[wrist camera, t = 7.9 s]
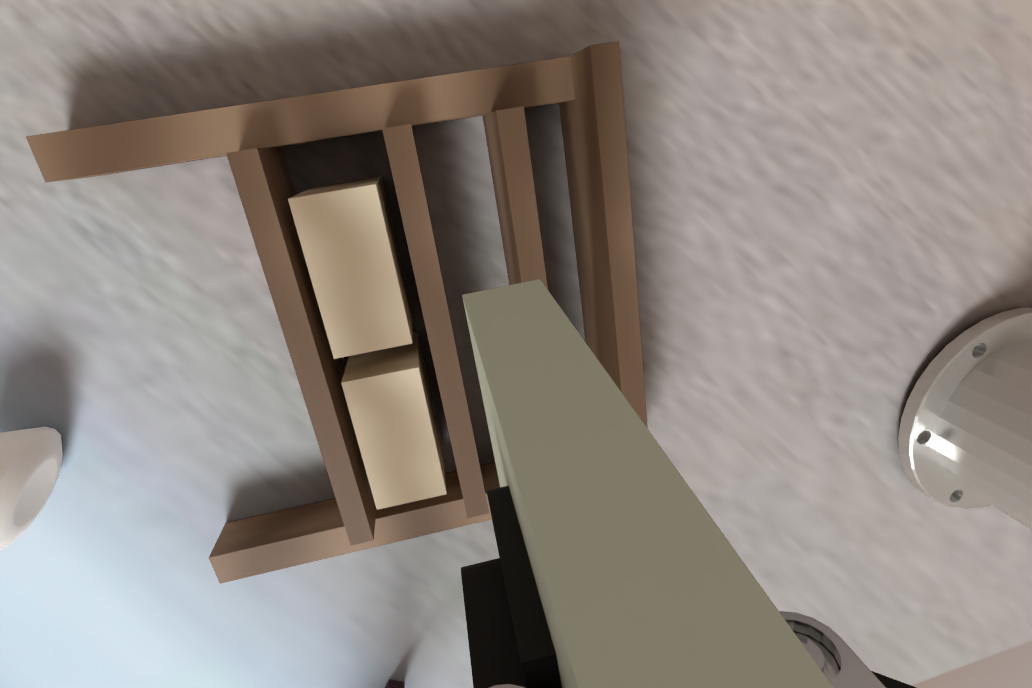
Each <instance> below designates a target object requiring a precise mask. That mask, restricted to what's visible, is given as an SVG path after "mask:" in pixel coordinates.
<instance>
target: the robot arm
mask: <svg viewBox="0 0 1032 688" xmlns="http://www.w3.org/2000/svg"><path fill="white" fill-rule="evenodd" d="M898 443H899V456H900V459H901V463H902V467H903V469H904V471H905V473H906V475H907V476H908V478H909V480H910V481H911V482H912V483H913V484H914V485H915V486H916V487H917V488H918V489H919V490H920V491H922V492H923V493H925V494H926V495H928V496H929V497H931V498H933V499H934V500H935V501H937V502H939V503H941V504H944V505H946V506H950V507H956V508H965V509H968V508H980V507H986V506H990V505H993V506H994V507H996V508H997V509H999V510H1001V511H1002V512H1004V513H1005V514H1007V515H1009V516H1010V517H1012V518H1013V519H1015V520H1017V521H1018V522H1020V523H1021V524H1023V525H1025V526H1026V527H1028V528H1029V529H1031V530H1032V307H1025V308H1018V309H1013V310H1008V311H1004V312H1001V313H999V314H996V315H994V316H991V317H989V318H986V319H984V320H982V321H980V322H979V323H977V324H975V325H974V326H972V327H970V328H969V329H967V330H965V331H964V332H963V333H961V334H960V335H959V336H958V337H956V338H955V339H954V340H953V341H951V342H950V343H949V344H948V345H947V346H945V347H944V349H943V350H942V351H941V352H940V353H939V354H938V355H937V356H936V357H935V358H934V359H933V360H932V361H931V362H930V364H929V365H928V367H927V368H926V369H925V371H924V372H923V374H922V375H921V376H920V378H919V379H918V381H917V382H916V384H915V386H914V388H913V390H912V392H911V394H910V396H909V398H908V400H907V403H906V406H905V409H904V412H903V415H902V417H901V423H900V429H899V436H898ZM487 496H488V501H489V506H490V511H491V516H492V521H493V526H494V531H495V536H496V541H497V546H498V551H499V556H500V558H498V559H494V560H490V561H486V562H482V563H478V564H474V565H469V566H465V567H461V575H462V584H463V594H464V603H465V612H466V621H467V631H468V640H469V649H470V658H471V667H472V677H473V686H474V688H562V684H561V678H560V673H559V667H558V662H557V656H556V652H555V648H554V645H553V641H552V638H551V634H550V631H549V627H548V624H547V620H546V616H545V613H544V609H543V606H542V602H541V599H540V595H539V592H538V588H537V584H536V581H535V577H534V574H533V570H532V567H531V563H530V560H529V556H528V553H527V549H526V545H525V542H524V538H523V535H522V531H521V528H520V524H519V521H518V517H517V513H516V510H515V506H514V503H513V499H512V496H511V492H510V489H509V486H504V487H500V488H496V489H491V490H487ZM780 614H781V615H782V617H783V618H784V619H785V621H786V622H787V623H788V625H789V626H790V628H791V629H792V630H793V632H794V633H795V635H796V636H797V637H798V639H799V640H800V642H801V643H802V644H803V646H804V647H805V648H806V650H807V651H808V653H809V654H810V655H811V657H812V658H813V660H814V661H815V662H816V664H817V665H818V667H819V668H820V669H821V671H822V672H823V674H824V675H825V676H826V678H827V679H828V680H829V682H830V683H831V685H832V686H833V687H834V688H916V687H913V686H911V685H908V684H905V683H902V682H900V681H897V680H894V679H892V678H889V677H886V676H883V675H881V674H878V673H875V672H873V671H870V670H869V668H868V667H867V666H866V665H865V664H864V663H863V662H862V661H861V660H860V658H859V657H858V656H857V655H856V654H855V653H854V652H853V651H852V650H851V648H850V647H849V646H848V645H847V644H846V643H845V642H844V641H843V640H842V638H841V637H840V636H838V635H837V634H836V633H835V632H834V631H833V630H832V629H830V628H829V627H828V626H826V625H825V624H823V623H821V622H819V621H817V620H816V619H814V618H811V617H808V616H805V615H802V614H799V613H794V612H783V611H780Z"/></svg>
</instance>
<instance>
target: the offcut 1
mask: <svg viewBox="0 0 1032 688" xmlns="http://www.w3.org/2000/svg"><path fill="white" fill-rule="evenodd" d="M288 201H289V205H290V208H291V212H292V215H293V219H294V222H295V226H296V229H297V233H298V236H299V239H300V243H301V246H302V250H303V253H304V257H305V260H306V264H307V267H308V271H309V274H310V278H311V281H312V285H313V288H314V292H315V295H316V299H317V302H318V305H319V309H320V312H321V316H322V319H323V323H324V326H325V330H326V333H327V337H328V340H329V344H330V347H331V351H332V354H333V358H334V359H337V358H342V357H347V356H352V355H357V354H362V353H367V352H372V351H377V350H382V349H387V348H392V347H397V346H402V345H407V344H412V307H411V303H410V298H409V294H408V289H407V285H406V280H405V276H404V272H403V267H402V263H401V258H400V254H399V249H398V245H397V241H396V236H395V232H394V227H393V223H392V218H391V214H390V210H389V205H388V201H387V196H386V192H385V187H384V183H383V179H382V177H376V178H370V179H364V180H358V181H352V182H346V183H340V184H334V185H328V186H322V187H316V188H310V189H308V190H305V191H303V192H301V193H299V194H297V195H295V196H293V197H291V198H289V199H288Z"/></svg>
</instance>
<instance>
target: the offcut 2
mask: <svg viewBox="0 0 1032 688" xmlns="http://www.w3.org/2000/svg"><path fill="white" fill-rule="evenodd" d="M341 384H342V387H343V391H344V394H345V398H346V402H347V405H348V409H349V412H350V416H351V419H352V423H353V427H354V430H355V434H356V437H357V441H358V444H359V448H360V452H361V455H362V459H363V462H364V466H365V469H366V473H367V477H368V480H369V484H370V487H371V491H372V494H373V498H374V502H375V505H376V509H377V510H378V509H383V508H387V507H392V506H396V505H401V504H405V503H410V502H414V501H419V500H423V499H427V498H432V497H436V496H441V495H445V494H447V492H446V481H445V471H444V461H443V450H442V442H441V437H440V433H439V428H438V423H437V419H436V414H435V410H434V405H433V401H432V396H431V391H430V387H429V382H428V378H427V373H426V368H425V364H424V359H423V355H422V350H421V345H420V341H419V336H418V332H414V333H412V344H407V345H402V346H397V347H392V348H387V349H382V350H377V351H372V352H367V353H362V354H357V355H352V356H349V358H348V361H347V365H346V368H345V372H344V375H343V378H342V382H341Z"/></svg>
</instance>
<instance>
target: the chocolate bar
mask: <svg viewBox="0 0 1032 688" xmlns="http://www.w3.org/2000/svg"><path fill="white" fill-rule="evenodd" d="M385 688H404V682H400V681H395V680H389V681H388V683H387V685H386V687H385Z"/></svg>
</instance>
